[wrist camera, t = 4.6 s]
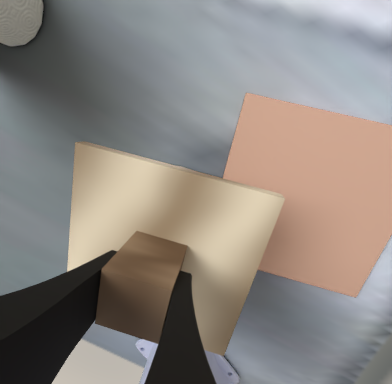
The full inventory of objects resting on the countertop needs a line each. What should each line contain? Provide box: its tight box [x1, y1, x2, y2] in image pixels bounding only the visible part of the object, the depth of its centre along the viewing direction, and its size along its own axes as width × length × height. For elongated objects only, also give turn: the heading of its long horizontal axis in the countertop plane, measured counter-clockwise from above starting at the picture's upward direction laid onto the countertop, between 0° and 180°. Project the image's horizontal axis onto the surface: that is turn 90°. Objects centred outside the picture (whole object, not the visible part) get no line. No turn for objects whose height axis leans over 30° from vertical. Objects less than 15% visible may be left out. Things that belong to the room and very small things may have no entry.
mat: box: [223, 93, 392, 297], centre depth 17 cm, size 14×14×1 cm
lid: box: [67, 142, 285, 356], centre depth 11 cm, size 11×11×4 cm
